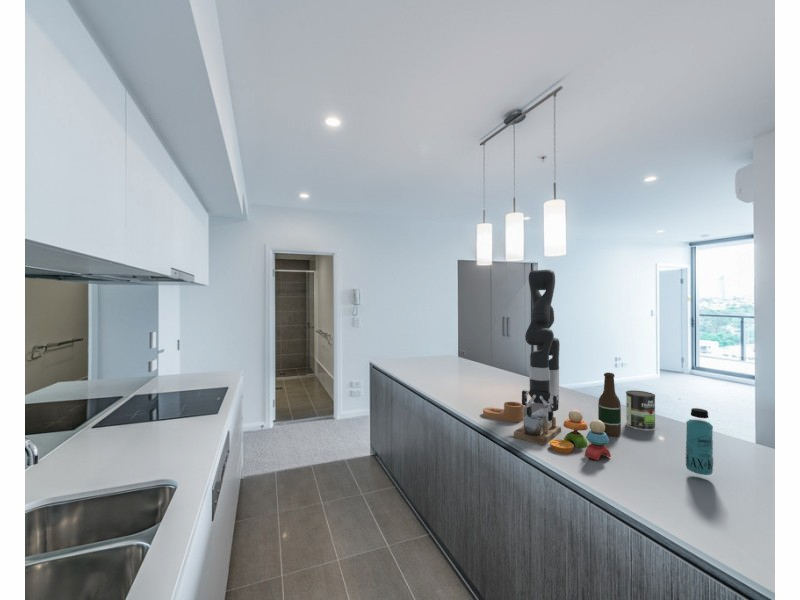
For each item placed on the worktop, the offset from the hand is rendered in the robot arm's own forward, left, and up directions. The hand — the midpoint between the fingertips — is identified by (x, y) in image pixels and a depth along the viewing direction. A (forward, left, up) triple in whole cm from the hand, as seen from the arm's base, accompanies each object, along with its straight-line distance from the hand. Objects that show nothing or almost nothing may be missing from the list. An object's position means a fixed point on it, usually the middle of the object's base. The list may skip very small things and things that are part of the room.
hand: (539, 418), depth 146 cm
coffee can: (-35, +29, -6) cm, 46 cm away
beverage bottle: (+4, +50, -6) cm, 50 cm away
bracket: (-8, -20, -6) cm, 22 cm away
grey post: (0, 0, -4) cm, 4 cm away
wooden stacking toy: (+8, +17, -6) cm, 20 cm away
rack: (+2, 0, -6) cm, 6 cm away
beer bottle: (-18, +21, -6) cm, 28 cm away
